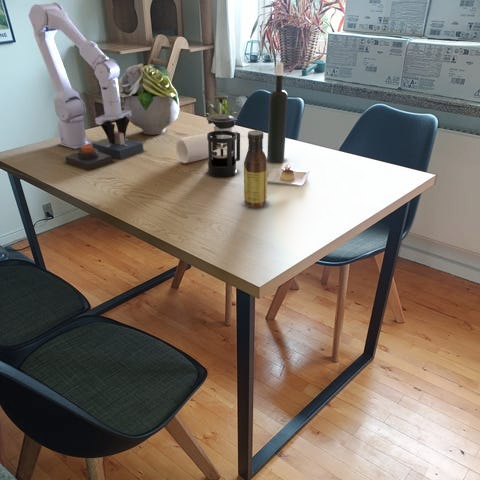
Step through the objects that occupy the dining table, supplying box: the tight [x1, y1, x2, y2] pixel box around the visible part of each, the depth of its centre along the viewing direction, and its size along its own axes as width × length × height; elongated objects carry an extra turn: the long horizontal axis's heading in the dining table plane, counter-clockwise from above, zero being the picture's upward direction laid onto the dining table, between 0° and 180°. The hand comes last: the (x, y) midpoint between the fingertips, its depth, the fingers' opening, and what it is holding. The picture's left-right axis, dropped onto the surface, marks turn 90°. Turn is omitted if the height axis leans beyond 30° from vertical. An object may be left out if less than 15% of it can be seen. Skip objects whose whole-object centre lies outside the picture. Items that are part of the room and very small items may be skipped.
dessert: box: [267, 164, 310, 187], centre depth 153 cm, size 12×12×5 cm
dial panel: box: [91, 138, 145, 160], centre depth 175 cm, size 14×11×3 cm
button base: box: [64, 148, 114, 171], centre depth 165 cm, size 12×10×4 cm
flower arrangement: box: [117, 63, 180, 136], centre depth 188 cm, size 25×25×24 cm
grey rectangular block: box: [114, 130, 125, 145], centre depth 173 cm, size 6×2×4 cm, turn 53°
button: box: [80, 144, 93, 153], centre depth 163 cm, size 4×4×2 cm
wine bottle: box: [266, 62, 289, 164], centre depth 160 cm, size 6×6×30 cm
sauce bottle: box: [243, 129, 268, 209], centre depth 132 cm, size 6×6×20 cm
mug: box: [175, 133, 209, 164], centre depth 167 cm, size 12×10×8 cm
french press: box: [206, 95, 241, 179], centre depth 152 cm, size 12×9×23 cm
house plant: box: [203, 99, 237, 146], centre depth 180 cm, size 14×14×16 cm
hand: (117, 141), depth 174 cm, fingers open, 4 cm apart
